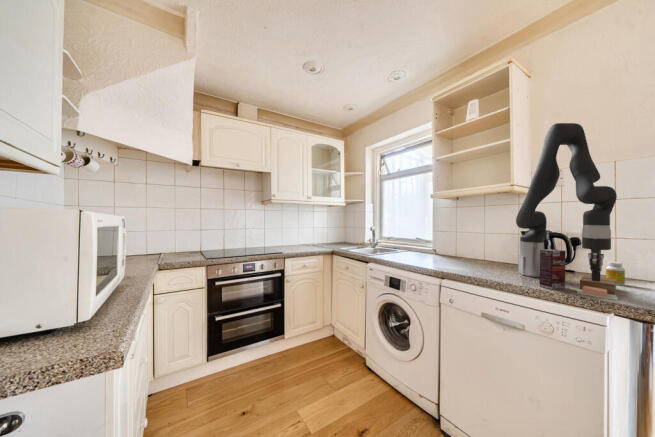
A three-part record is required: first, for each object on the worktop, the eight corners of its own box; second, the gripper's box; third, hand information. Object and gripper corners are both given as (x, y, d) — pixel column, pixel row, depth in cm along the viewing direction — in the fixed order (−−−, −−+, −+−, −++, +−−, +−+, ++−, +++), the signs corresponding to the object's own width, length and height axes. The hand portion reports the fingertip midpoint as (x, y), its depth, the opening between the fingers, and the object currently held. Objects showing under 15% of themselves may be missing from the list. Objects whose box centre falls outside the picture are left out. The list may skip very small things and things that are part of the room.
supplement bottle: (619, 286, 103) (619, 263, 103) (602, 282, 108) (602, 261, 108) (628, 285, 104) (628, 263, 104) (611, 282, 109) (611, 261, 109)
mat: (577, 293, 91) (577, 292, 91) (577, 290, 96) (577, 289, 96) (617, 300, 84) (617, 299, 84) (615, 295, 89) (615, 295, 89)
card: (582, 287, 91) (582, 293, 91) (606, 291, 86) (606, 297, 86) (583, 285, 94) (583, 290, 94) (607, 289, 89) (607, 294, 89)
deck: (584, 284, 105) (584, 275, 105) (615, 289, 98) (615, 279, 98) (579, 289, 96) (579, 280, 96) (614, 295, 89) (614, 284, 89)
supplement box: (552, 289, 97) (552, 251, 97) (538, 286, 101) (538, 249, 101) (566, 288, 99) (566, 250, 99) (552, 284, 104) (552, 249, 104)
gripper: (584, 235, 99) (584, 276, 99) (579, 237, 91) (579, 281, 91) (612, 236, 93) (611, 280, 93) (610, 238, 85) (609, 286, 85)
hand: (595, 280), depth 92 cm, fingers closed
